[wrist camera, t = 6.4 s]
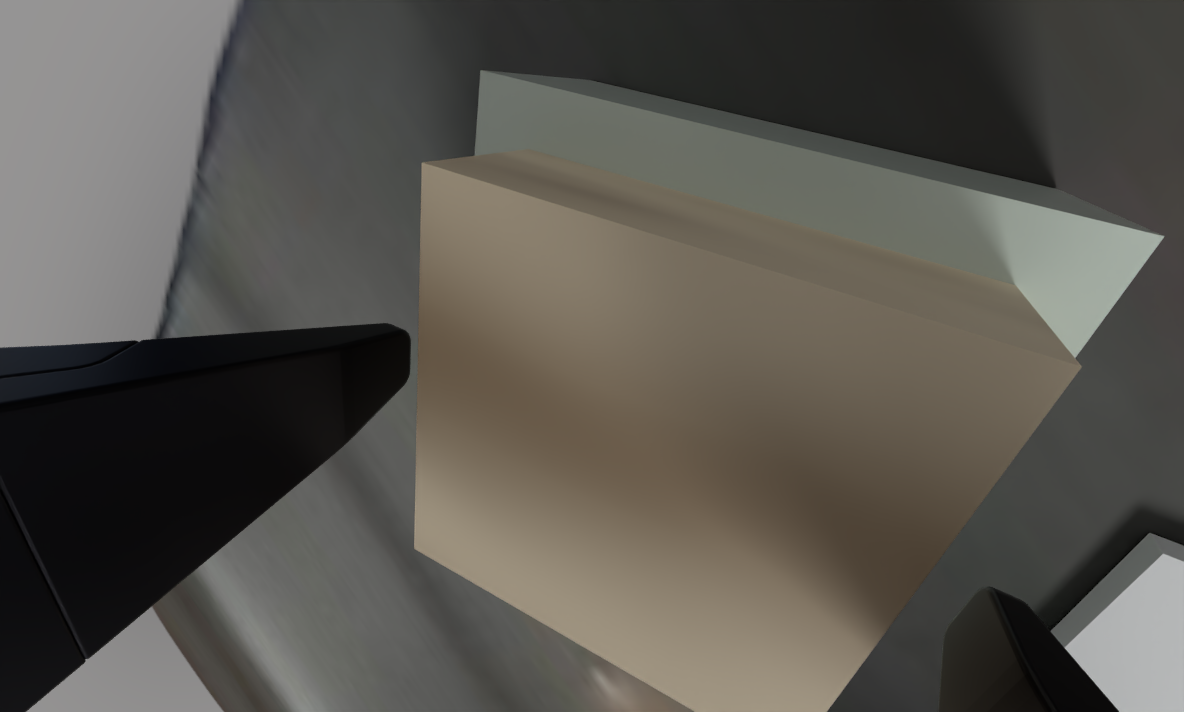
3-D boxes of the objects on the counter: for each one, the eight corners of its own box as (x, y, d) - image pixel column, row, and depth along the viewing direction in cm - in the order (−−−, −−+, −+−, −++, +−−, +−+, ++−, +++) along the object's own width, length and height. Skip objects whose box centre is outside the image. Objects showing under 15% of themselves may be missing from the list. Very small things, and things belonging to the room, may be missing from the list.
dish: (841, 547, 14) (832, 689, 10) (535, 409, 16) (451, 486, 13) (1058, 189, 9) (1163, 236, 6) (589, 79, 12) (480, 70, 8)
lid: (804, 629, 10) (786, 765, 8) (491, 473, 12) (414, 548, 10) (1015, 284, 7) (1082, 366, 5) (528, 149, 9) (421, 162, 7)
